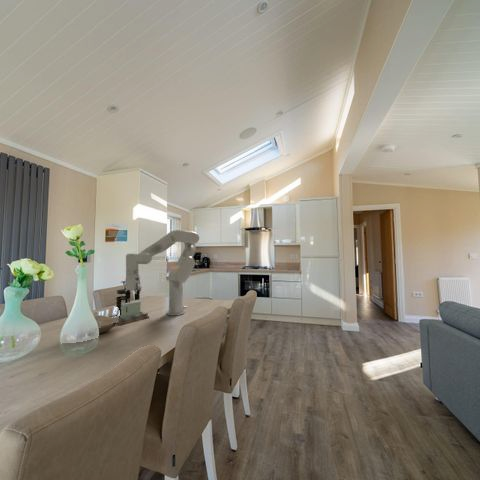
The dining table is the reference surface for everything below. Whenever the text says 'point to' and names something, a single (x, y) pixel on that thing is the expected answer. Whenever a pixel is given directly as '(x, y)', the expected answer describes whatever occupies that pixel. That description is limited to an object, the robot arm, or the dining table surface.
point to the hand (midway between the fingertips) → (132, 298)
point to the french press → (121, 298)
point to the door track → (132, 318)
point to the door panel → (130, 309)
